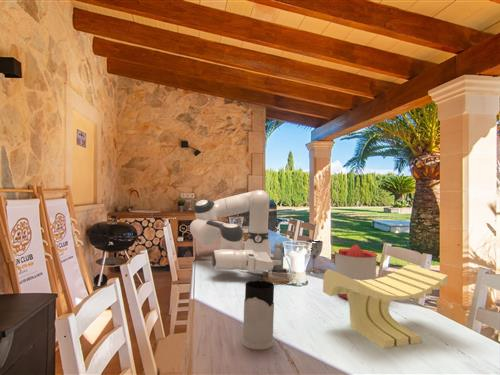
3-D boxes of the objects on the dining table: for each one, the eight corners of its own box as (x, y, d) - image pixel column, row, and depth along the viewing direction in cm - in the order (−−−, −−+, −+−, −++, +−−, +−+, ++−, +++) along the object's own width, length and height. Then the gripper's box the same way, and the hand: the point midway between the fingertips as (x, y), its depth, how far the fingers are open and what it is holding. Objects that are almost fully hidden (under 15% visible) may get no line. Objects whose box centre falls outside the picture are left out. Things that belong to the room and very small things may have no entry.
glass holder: (236, 345, 84) (238, 286, 84) (252, 324, 98) (254, 273, 98) (269, 352, 82) (272, 291, 82) (281, 329, 95) (283, 277, 95)
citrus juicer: (335, 287, 139) (337, 239, 139) (379, 295, 130) (381, 244, 130) (323, 296, 125) (325, 244, 125) (371, 306, 117) (373, 250, 117)
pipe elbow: (273, 278, 144) (274, 242, 144) (271, 275, 149) (273, 241, 149) (291, 278, 144) (292, 243, 144) (289, 275, 149) (290, 241, 149)
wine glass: (323, 273, 160) (324, 242, 160) (306, 273, 160) (307, 242, 160) (319, 269, 168) (321, 240, 168) (304, 269, 168) (305, 239, 168)
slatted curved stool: (402, 317, 108) (404, 262, 108) (445, 338, 93) (447, 275, 93) (321, 326, 98) (323, 266, 98) (355, 352, 83) (357, 281, 83)
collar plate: (262, 274, 154) (263, 266, 154) (293, 276, 153) (293, 267, 153) (263, 283, 140) (263, 274, 140) (296, 285, 139) (296, 275, 139)
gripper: (247, 261, 156) (276, 262, 157) (250, 273, 135) (283, 274, 136) (247, 248, 156) (276, 249, 157) (251, 257, 135) (284, 258, 136)
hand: (280, 260), depth 146 cm, fingers closed on pipe elbow, 4 cm apart
